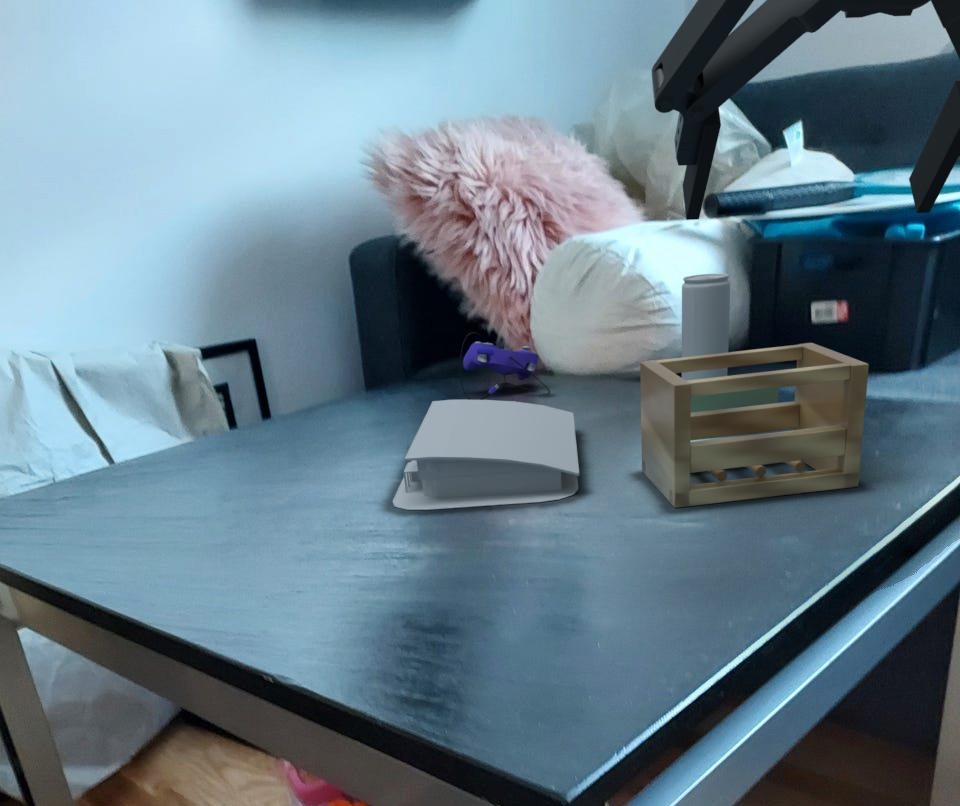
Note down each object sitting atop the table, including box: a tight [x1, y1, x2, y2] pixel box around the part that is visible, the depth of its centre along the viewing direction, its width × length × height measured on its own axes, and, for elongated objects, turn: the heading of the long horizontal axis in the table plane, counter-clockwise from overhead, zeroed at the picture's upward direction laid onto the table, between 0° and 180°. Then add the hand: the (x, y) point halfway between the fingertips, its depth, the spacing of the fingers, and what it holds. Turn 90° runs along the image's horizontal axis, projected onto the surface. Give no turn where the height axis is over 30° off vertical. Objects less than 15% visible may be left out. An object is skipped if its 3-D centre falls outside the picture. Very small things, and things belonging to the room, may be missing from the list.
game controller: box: [459, 331, 551, 400], centre depth 112 cm, size 10×8×10 cm
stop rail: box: [691, 387, 780, 413], centre depth 94 cm, size 11×1×2 cm, turn 95°
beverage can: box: [681, 273, 731, 381], centre depth 100 cm, size 5×5×12 cm
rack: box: [639, 342, 870, 509], centre depth 73 cm, size 14×10×9 cm
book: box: [392, 399, 580, 511], centre depth 84 cm, size 15×23×4 cm, turn 176°
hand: (804, 199), depth 57 cm, fingers open, 13 cm apart
